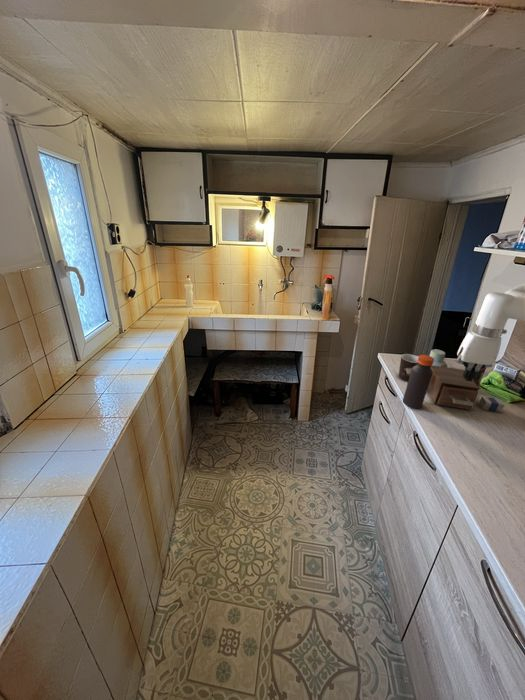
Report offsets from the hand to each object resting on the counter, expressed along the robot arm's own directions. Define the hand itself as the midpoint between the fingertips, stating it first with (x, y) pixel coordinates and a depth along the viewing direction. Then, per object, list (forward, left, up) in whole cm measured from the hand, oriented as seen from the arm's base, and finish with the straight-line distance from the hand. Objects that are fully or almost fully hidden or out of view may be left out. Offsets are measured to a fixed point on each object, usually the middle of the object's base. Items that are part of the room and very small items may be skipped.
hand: (467, 379), depth 100 cm
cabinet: (0, -10, -14) cm, 17 cm away
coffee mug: (+11, -21, -14) cm, 28 cm away
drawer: (0, -6, -13) cm, 14 cm away
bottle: (+15, 0, -14) cm, 20 cm away
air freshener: (-1, -33, -14) cm, 36 cm away
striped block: (-14, -6, -14) cm, 21 cm away
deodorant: (-14, -24, -14) cm, 32 cm away
